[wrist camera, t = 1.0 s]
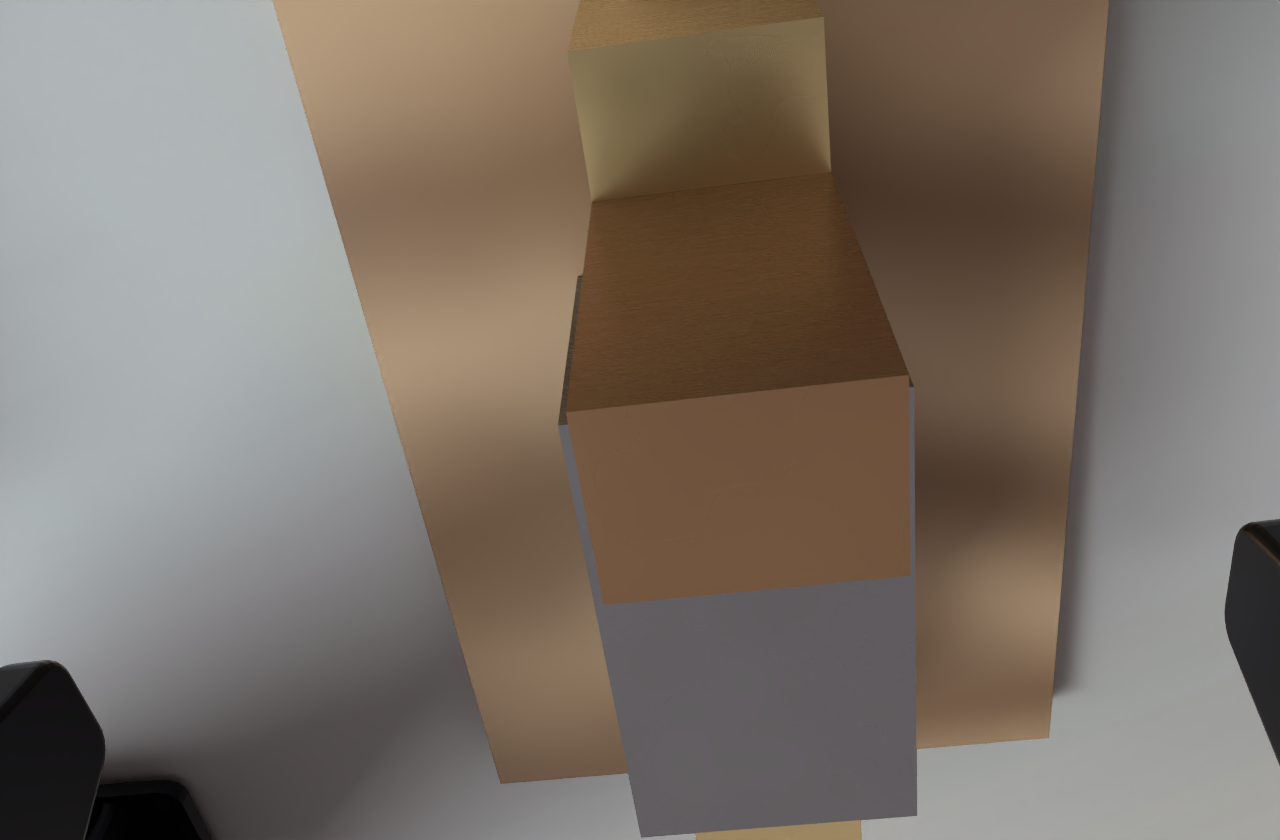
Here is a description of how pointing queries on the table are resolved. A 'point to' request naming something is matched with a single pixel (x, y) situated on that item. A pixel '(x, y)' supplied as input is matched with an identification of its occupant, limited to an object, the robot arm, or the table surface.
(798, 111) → the l-shaped wooden step
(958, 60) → the base board
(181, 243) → the table surface
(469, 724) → the table surface
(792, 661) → the sleeve
